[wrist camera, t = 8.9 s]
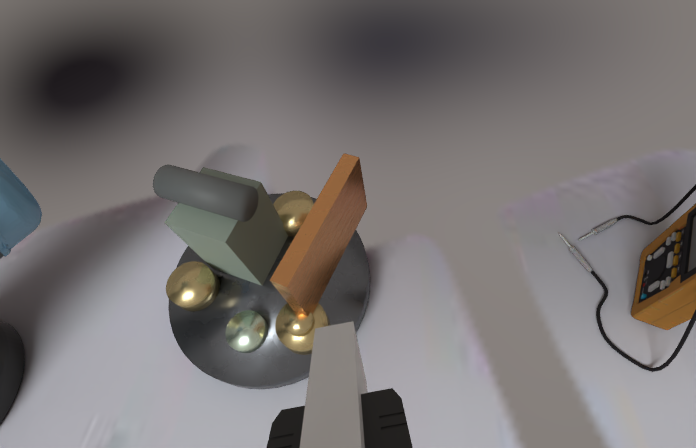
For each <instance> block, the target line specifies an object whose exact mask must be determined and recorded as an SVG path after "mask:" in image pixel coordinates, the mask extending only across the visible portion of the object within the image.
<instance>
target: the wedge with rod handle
mask: <svg viewBox="0 0 696 448" xmlns="http://www.w3.org/2000/svg"><path fill="white" fill-rule="evenodd" d="M153 188H154V191H155V193H156V194H157V195H158V196H159V197H161V198H165V199H168V200H172V201H175V202H178V204H177V206H176V207H175V208H174V210H173V211H172V213H171V214H170V216H169V217H168V219H167V220H166V221H165V224H166V225H167V226H168V227H169V228H171V229H172V230H173V231H174V232H175V233H176V234H177V235H178V236H179V237H180V238H181V239H182V240H183V241H184V242H185V243H186V244H187V245H188V246H189V247H190V248H191V249H192V250H194V251H195V252H196V253H197V254H198V255H199V256H200V257H201V258H202V259H203V260H204V261H205V262H206V263H207V264H208V265H209V266H210V267H211V268H213V269H216V270H219V271H222V272H224V273H227V274H230V275H233V276H236V277H239V278H242V279H244V280H247V281H250V282H253V283H256V284H259V285H262V286H263V284H264V282H265V280H266V278H267V276H268V274H269V272H270V270H271V268H272V266H273V264H274V262H275V260H276V259H277V257H278V255H279V253H280V251H281V249H282V247H283V245H284V243H285V241H286V239H287V237H288V235H287V233H286V231H285V229H284V227H283V225H284V224H283V222H282V220H281V219H280V217H279V215H278V213H277V211H276V209H275V207H274V205H273V204H272V202H271V200H270V198H269V196H268V194H267V192H266V191H265V189H264V187H263V185H262V183H261V182H258V181H254V180H250V179H247V178H243V177H239V176H235V175H231V174H227V173H223V172H219V171H216V170H212V169H208V168H204V167H203V168H202V170H201V171H200V173H199V172H195V171H191V170H188V169H184V168H180V167H176V166H172V165H165V166H162V167H161V168H160V169H159V170H158V171H157V172H156V174H155V176H154V180H153Z"/></svg>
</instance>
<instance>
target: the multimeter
mask: <svg viewBox="0 0 696 448" xmlns="http://www.w3.org/2000/svg"><path fill="white" fill-rule="evenodd" d="M695 190H696V185H695V186H694V187H693V188H692V189H691V190H690V191H689V192H688V193H687V194H686V195H685V196H684V197H683V198H682V199H681V200H680V201H679V203H678V204H677V205H676V206H675V207H674V208H672V209H671V210H670V211H669V212H668V213H667V214H666V215H664V216H663V217H662V218H661V219H659V220H657V221H655V222H652V223H650V222H647V221H645V220H642V219H640V218H637V217H634V216H629V215H624V216H621V217H618V218H616V219H613V220H610V221H608V222H606V223H605V224H603V225H601V226H599V227H597V228H595V229H592V232H591V233H589V234H587V235H585V236H584V237H582V238H580V239H579V240H582V239H584V238H586V237H588V236H590V235H592V234H595V235H596V234H597V233H598V232H600V231H602V230H604V229H606V228H608V227H609V226H611V225H613V224H615V223H616V222H617V221H618V220H620V219H623V218H631V219H635V220H637V221H640V222H643V223H645V224H648V225H654V224H657V223H659V222H661V221H663V220H664V219H665V218H667V217H668V216H669V215H671V214H672V213H673V212H674V211H675V210H676V209H677V208H678V207H679V206H680V205H681V204H682V203H683V202H684V201H685V200H686V199H687V198H688V197H689V196H690V195H691V194H692V193H693V192H694V191H695ZM558 233H559V232H558ZM559 235H560V237H561V238H562V239H563V240H564V241H565V243H566V244H567V245H568V246H569V247H570V249H569V251H571V252H572V253H573V254H574V256H575V257H576V258H577V259H578V260H579V262H580V263H581V264H582V265H583V266H584V267H585V269H587V270H588V271H589V272H591V274H592V275H593V276H594V277H595V278H596V279H597V280H598V282H599V283H600V284H601V285H602V287H603V289H604V291H605V294H604V297H603V298H602V300H601V302H600V303H599V305H598V308H597V312H596V316H597V322H598V326H599V329H600V331H601V334H602V336H603V337H604V339H605V340H606V342H607V343H608V344H609V345H610V346H611V347H612V348H613V349H614V350H615V351H617V352H618V353H619V354H621V355H622V356H623V357H625V358H626V359H628V360H629V361H631V362H632V363H634V364H636V365H638V366H639V367H641V368H643V369H646V370H649V371H652V372H653V371H659V370H662V369H663V368H665V367H666V366H668V365H669V364H670V363H671V362H672V360H673V359H674V358H675V357H676V356H677V354H678V352H679V351H680V349H681V348H682V346H683V344H684V342H685V341H686V339H687V337H688V335H689V333H690V331H691V329H692V327H693V325H694V323H695V321H696V204H695V205H694V206H693V207H691V208H690V209H689V210H688V211H687V212H686V213H684V214H683V215H682V216H681V217H680V218H679V219H678V220H677V221H675V222H674V223H673V224H672V225H671V226H670V227H669V228H668V229H666V230H665V231H664V232H663V233H662V234H661V235H660V236H659V237H657V238H656V239H655V240H654V241H653V242H652V243H651V244H650V245H648V246H647V247H646V248H645V249H644V250H643V251H642V254H641V258H640V267H639V273H638V279H637V285H636V291H635V297H634V303H633V306H632V311H631V315H632V317H633V318H634V319H637V320H640V321H643V322H646V323H648V324H651V325H654V326H657V327H659V328H662V329H665V330H669V329H671V328H673V327H675V326H677V325H679V324H681V323H683V322H686V321H688V320H690V319H691V320H690V322H689V325H688V327H687V329H686V331H685V333H684V335H683V337H682V339H681V341H680V343H679V345H678V346H677V348H676V350H675V351H674V353H673V354H672V356H671V357H670V358H669V359H668V360H667V362H665V363H664V364H663V365H661V366H660V367H656V368H649V367H646V366H644V365H642V364H640V363H639V362H637V361H635V360H633V359H632V358H630V357H629V356H627V355H626V354H624V353H623V352H622V351H620V350H619V349H618V348H617V347H616V346H615V345H613V344H612V342H611V341H610V340H609V339H608V338H607V336H606V334H605V332H604V330H603V327H602V324H601V320H600V309H601V306H602V305H603V303H604V301H605V300H606V298H607V296H608V290H607V288H606V286H605V284H604V283H603V282H602V281H601V279H600V278H599V277H598V276H597V275H596V274H595V272H594V271H593V269H592V268H591V266H590V265H589V264H588V262H587V261H586V260H585V259H584V258H583V257H582V255H581V254H580V253H579V252H578V251H577V250H576V249H575V246H574V247H572V246H571V245H570V244H569V243H568V242H567V240H566V239H565V238H564V237H563V236H562V235H561V234H560V233H559ZM579 240H578V241H579Z"/></svg>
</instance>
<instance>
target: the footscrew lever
mask: <svg viewBox="0 0 696 448" xmlns="http://www.w3.org/2000/svg"><path fill="white" fill-rule="evenodd" d="M366 208H367V203H366V196H365V190H364V184H363V178H362V172H361V165H360V159H359V157H355V156H351V155H348V154H343V155H342V157H341V159H340V161H339V162H338V164H337V166H336V167H335V169H334V171H333V173H332V174H331V176H330V178H329V180H328V181H327V183H326V185H325V186H324V188H323V190H322V191H321V193H320V195H319V197H318V198H317V200H316V202H315V203H314V205H313V207H312V209H311V210H310V212H309V214H308V215H307V217H306V219H305V221H304V222H303V224H302V226H301V227H300V229H299V231H298V233H297V234H296V236H295V238H294V239H293V241H292V243H291V245H290V246H289V248H288V250H287V251H286V253H285V255H284V257H283V258H282V260H281V262H280V263H279V265H278V267H277V268H276V270H275V272H274V274H273V275H272V277H271V279H270V281H271V283H272V284H273V285H274V286H275V288H276V289H277V290H278V291H279V293H280V294H281V295H282V297H283V298H284V299H285V300H286V302H287V304H286V305H285V306H284V307H283V308H282V309H281V310H280V312H279V313H278V316H277V318H276V323H275V330H276V334H277V336H278V338H279V340H280V341H281V342H282V343H283V344H284V345H285V346H286V347H287V348H288V349H289V350H291V351H292V352H294V353H296V354H300V355H308V354H312V349H313V341H314V333H315V328H320V327H326V326H330V321H329V318H328V316H327V315H326V313H325V311H324V309H323V308H322V306H321V305H320V304H319V303H318V302H319V300H320V298H321V296H322V295H323V293H324V291H325V289H326V287H327V285H328V283H329V281H330V279H331V277H332V275H333V273H334V271H335V269H336V267H337V265H338V263H339V261H340V259H341V257H342V255H343V253H344V251H345V249H346V247H347V245H348V243H349V241H350V239H351V237H352V235H353V233H354V232H355V230H356V228H357V226H358V224H359V222H360V220H361V218H362V216H363V214H364V212H365V210H366Z"/></svg>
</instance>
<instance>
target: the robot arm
mask: <svg viewBox="0 0 696 448" xmlns="http://www.w3.org/2000/svg"><path fill="white" fill-rule="evenodd" d="M41 216H42V212H41V208H40V206H39V204H38V203H37V201H36V199H35V198H34V197H33V195H32V194H31V193H30V191H29V190H28V189H27V188H26V186H25V185H24V184H23V183H22V182H21V181H20V180H19V178H18V177H16V175H15V174H14V173H13V172H12V171H11V170H10V168H9V167H8V166H7V165H6V164H5V163H4V162H3V161H2V160H1V159H0V258H2V257H3V256H5V257H6V256H7V255H8V254H9V253H10V252H11V249H12V248H13V247H14V246H15V245H16V244H18V243H19V242H20V241H22V240H23V239H24V238H25V237H27V236H28V235H29V234H30V233H32V232H33V231H34V230H35V229H36V228H37V227H38V225H39V224H40V221H41ZM24 359H25V358H24V348H23V344H22V341H21V338H20V336H19V335H18V333H17V332H16V330H15V329H14V328H13V327H11V326H10V325H8V324H7V323H5V322H2V321H0V423H1V421H2V420H3V418H4V417H5V415H6V414H7V412H8V410H9V408H10V407H11V405H12V403H13V401H14V398H15V396H16V394H17V391H18V389H19V386H20V383H21V379H22V375H23V370H24ZM267 448H412V443H411V439H410V435H409V430H408V426H407V421H406V417H405V412H404V408H403V403H402V399H401V397H400V396H399V395H398V394H397V393H396V392H395V391H394V390H393V389H392V388H391V389H386V390H381V391H375V392H370V393H367V383H366V378H365V373H364V369H363V364H362V359H361V355H360V350H359V346H358V341H357V336H356V332H355V327H354V322H353V321H352V322H346V323H341V324H336V325H331V326H326V327H320V328H315V333H314V341H313V349H312V356H311V364H310V372H309V379H308V387H307V395H306V402H305V406H301V407H295V408H290V409H285V410H281V412H280V413H279V415H278V416H277V417H276V419H275V420H274V422H273V423H272V427H271V431H270V435H269V441H268V444H267Z"/></svg>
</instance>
